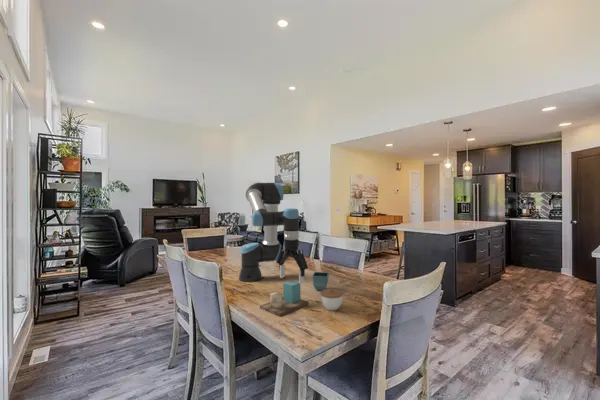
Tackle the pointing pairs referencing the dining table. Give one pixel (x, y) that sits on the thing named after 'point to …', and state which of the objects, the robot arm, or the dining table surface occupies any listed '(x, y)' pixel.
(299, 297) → the teal rectangular block
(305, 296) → the dining table surface
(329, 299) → the lidded jar
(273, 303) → the cream smooth rounded part
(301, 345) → the dining table surface
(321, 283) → the flower pot
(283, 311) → the base board
